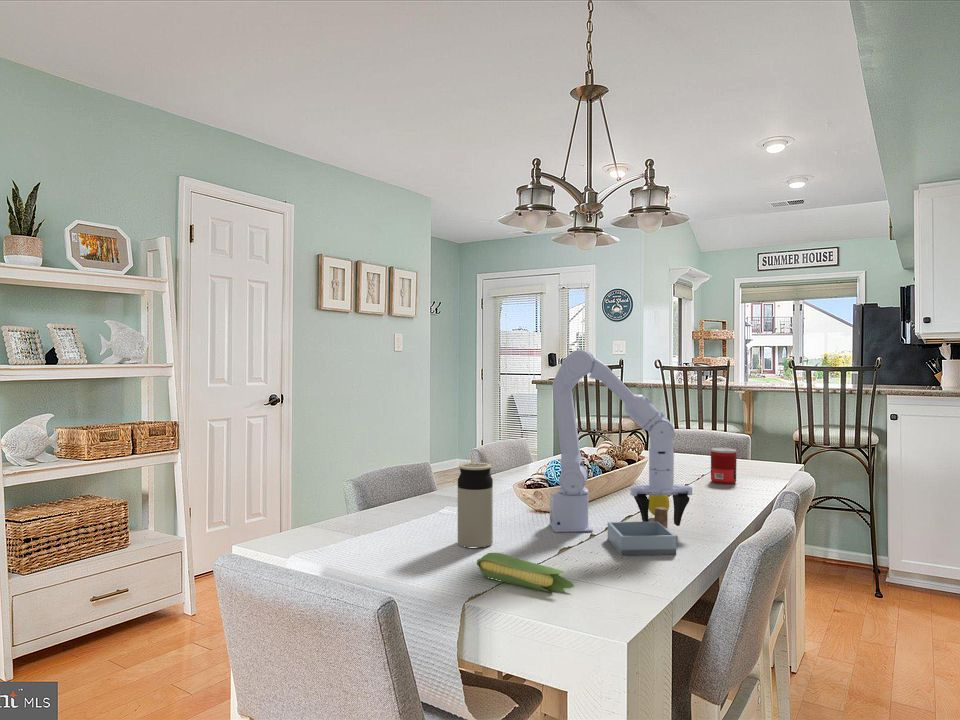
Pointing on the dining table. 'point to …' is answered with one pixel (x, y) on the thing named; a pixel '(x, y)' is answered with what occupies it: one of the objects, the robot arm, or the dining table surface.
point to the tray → (641, 538)
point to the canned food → (723, 465)
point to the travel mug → (475, 505)
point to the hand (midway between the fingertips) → (661, 525)
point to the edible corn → (522, 572)
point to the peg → (661, 515)
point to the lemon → (658, 502)
